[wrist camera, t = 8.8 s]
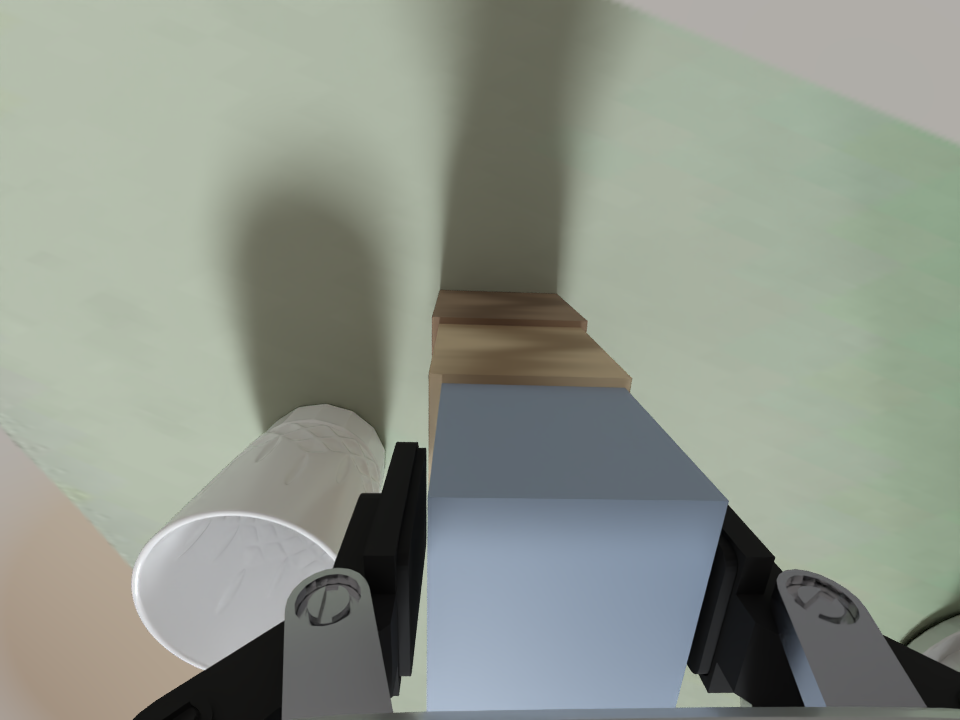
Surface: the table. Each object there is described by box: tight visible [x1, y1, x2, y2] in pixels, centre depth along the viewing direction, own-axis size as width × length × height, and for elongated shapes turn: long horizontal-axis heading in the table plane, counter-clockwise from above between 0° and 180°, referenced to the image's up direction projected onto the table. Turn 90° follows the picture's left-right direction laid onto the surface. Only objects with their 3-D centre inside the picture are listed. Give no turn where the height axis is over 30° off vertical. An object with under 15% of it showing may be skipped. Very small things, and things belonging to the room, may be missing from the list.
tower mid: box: [429, 324, 632, 483], centre depth 15 cm, size 6×6×6 cm
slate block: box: [427, 383, 729, 712], centre depth 10 cm, size 5×5×5 cm
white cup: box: [131, 404, 385, 670], centre depth 21 cm, size 8×8×10 cm
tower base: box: [432, 290, 588, 356], centre depth 21 cm, size 6×6×6 cm
